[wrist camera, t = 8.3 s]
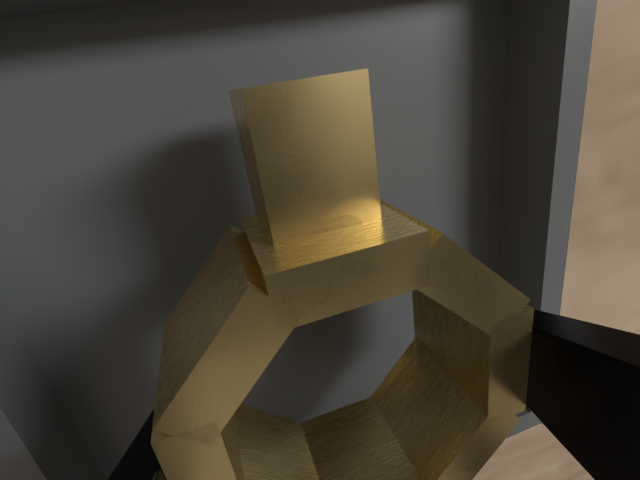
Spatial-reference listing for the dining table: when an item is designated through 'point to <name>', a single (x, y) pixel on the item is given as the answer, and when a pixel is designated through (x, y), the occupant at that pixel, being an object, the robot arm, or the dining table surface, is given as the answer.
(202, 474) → the ring
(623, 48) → the dining table surface
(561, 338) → the robot arm
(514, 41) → the tray
